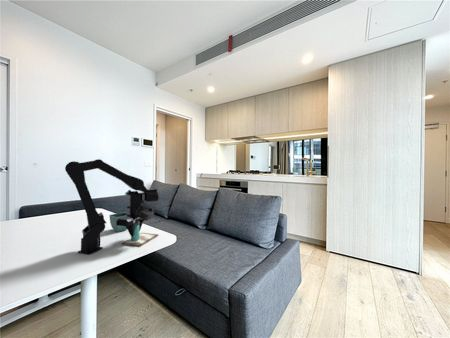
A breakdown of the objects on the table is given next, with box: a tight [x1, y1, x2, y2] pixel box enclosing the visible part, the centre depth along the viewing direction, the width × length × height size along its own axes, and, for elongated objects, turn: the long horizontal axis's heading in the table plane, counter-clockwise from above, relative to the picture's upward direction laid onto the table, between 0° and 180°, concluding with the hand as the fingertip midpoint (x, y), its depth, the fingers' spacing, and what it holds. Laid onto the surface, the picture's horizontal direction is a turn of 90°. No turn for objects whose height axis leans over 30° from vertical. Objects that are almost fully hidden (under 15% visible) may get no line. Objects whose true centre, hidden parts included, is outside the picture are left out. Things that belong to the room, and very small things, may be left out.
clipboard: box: [121, 232, 159, 247], centre depth 96 cm, size 15×10×1 cm, turn 168°
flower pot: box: [109, 211, 129, 233], centre depth 109 cm, size 9×9×9 cm
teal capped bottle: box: [130, 220, 140, 241], centre depth 93 cm, size 4×4×9 cm
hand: (135, 235), depth 93 cm, fingers closed on teal capped bottle, 4 cm apart
